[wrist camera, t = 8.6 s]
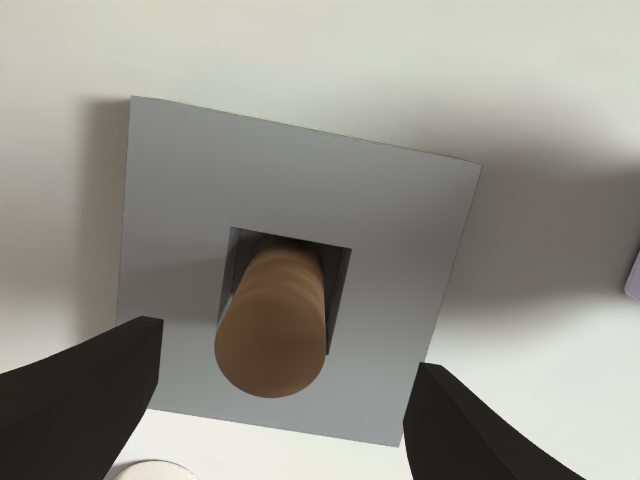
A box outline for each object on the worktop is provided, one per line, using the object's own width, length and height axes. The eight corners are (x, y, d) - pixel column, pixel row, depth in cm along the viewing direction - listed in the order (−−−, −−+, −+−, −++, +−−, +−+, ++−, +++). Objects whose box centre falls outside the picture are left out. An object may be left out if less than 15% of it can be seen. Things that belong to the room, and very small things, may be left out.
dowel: (330, 240, 21) (337, 312, 13) (313, 305, 22) (312, 407, 14) (258, 224, 21) (224, 288, 13) (245, 291, 22) (205, 386, 14)
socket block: (458, 158, 20) (482, 165, 17) (388, 407, 24) (398, 447, 21) (159, 98, 19) (130, 95, 16) (137, 366, 23) (110, 402, 20)
